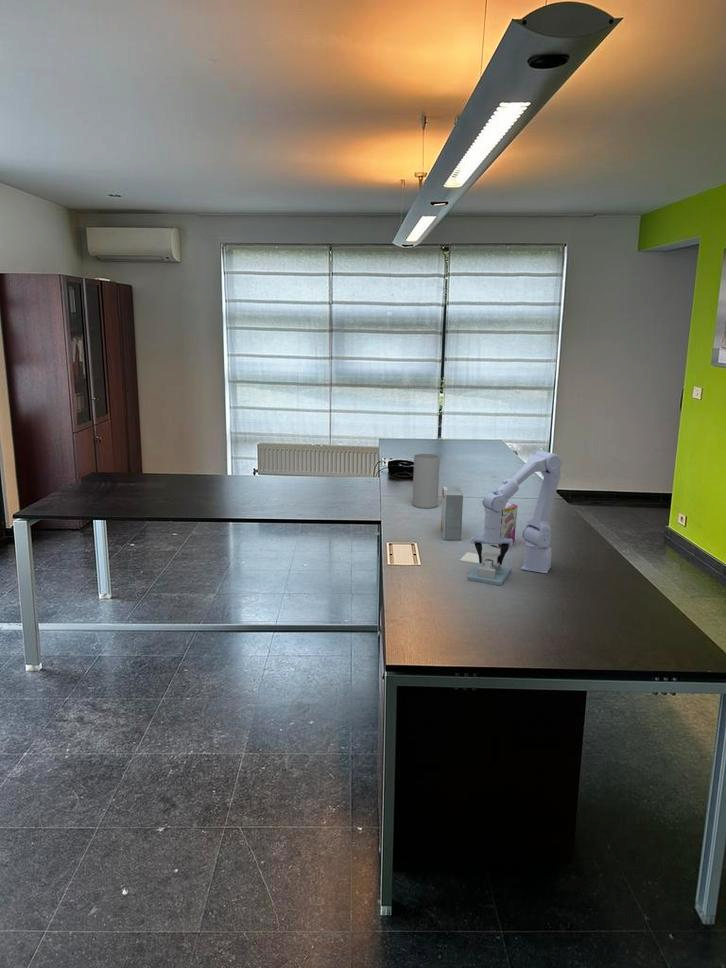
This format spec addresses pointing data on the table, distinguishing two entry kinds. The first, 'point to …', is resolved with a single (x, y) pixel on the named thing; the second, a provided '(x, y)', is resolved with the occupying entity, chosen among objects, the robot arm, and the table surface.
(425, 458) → the cylinder vase
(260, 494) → the table surface
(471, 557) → the cream mat
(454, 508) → the hard drive box
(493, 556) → the grey notched block
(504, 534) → the candy bar box
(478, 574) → the bench vise
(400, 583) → the table surface
